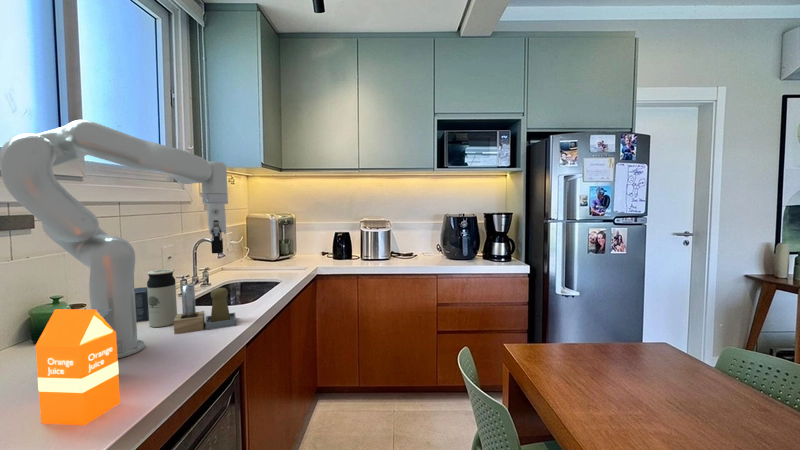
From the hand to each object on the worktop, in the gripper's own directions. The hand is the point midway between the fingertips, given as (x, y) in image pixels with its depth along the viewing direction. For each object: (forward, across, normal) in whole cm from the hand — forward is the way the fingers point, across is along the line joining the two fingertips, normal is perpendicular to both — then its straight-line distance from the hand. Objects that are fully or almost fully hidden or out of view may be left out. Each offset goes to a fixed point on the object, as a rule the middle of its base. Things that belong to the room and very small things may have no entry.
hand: (217, 251), depth 122 cm
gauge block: (+24, 0, +9) cm, 26 cm away
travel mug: (+24, +10, +18) cm, 32 cm away
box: (+25, +20, +26) cm, 41 cm away
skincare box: (+24, -34, +26) cm, 49 cm away
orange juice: (+24, -48, +24) cm, 58 cm away
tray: (+24, 0, 0) cm, 24 cm away
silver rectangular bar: (+24, 0, +9) cm, 26 cm away
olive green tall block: (+24, +1, 0) cm, 24 cm away
